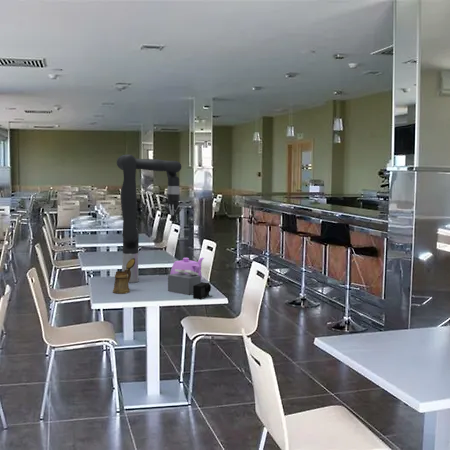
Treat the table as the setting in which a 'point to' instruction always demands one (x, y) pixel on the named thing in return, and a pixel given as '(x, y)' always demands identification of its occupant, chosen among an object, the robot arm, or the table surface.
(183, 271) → the back rocker
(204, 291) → the digital camera
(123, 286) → the wooden mug
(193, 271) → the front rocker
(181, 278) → the switch box
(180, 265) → the teapot
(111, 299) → the table surface
